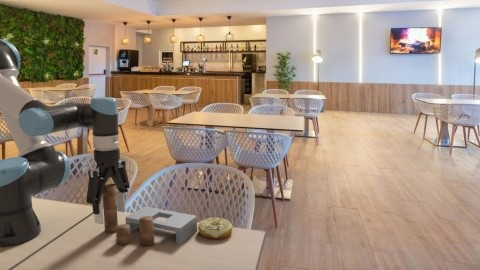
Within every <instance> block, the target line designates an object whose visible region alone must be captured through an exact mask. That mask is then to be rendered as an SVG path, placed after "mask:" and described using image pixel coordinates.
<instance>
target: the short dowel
mask: <svg viewBox="0 0 480 270" xmlns="http://www.w3.org/2000/svg"><path fill="white" fill-rule="evenodd" d="M115 237H116V238H115V239H116V241H115V242H116V245H117V246H119V247H124V246H128V245H130V244H131V242H132V241H131V233H130V225H128V224H126V223H122V224H118V226H117V227H116V232H115Z"/></svg>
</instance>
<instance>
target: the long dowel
mask: <svg viewBox="0 0 480 270" xmlns="http://www.w3.org/2000/svg"><path fill="white" fill-rule="evenodd" d="M116 189H117V187H116V185H115V183H105V187H104V190H103V194H102V207H103V224H104V232H105V233H106V234H114V233H115V234H116V227H117V226H118V225H119V222H118V211H117V195H116V192H117V190H116Z"/></svg>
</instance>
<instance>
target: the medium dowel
mask: <svg viewBox="0 0 480 270" xmlns="http://www.w3.org/2000/svg"><path fill="white" fill-rule="evenodd" d="M138 229H139V245H140V247H142V248H150V247H153V246H154V245H155V230H154V229H155V228H154V226H153V217H151V216H144V217H141V218H140V219H139V228H138Z"/></svg>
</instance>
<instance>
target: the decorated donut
mask: <svg viewBox="0 0 480 270" xmlns="http://www.w3.org/2000/svg"><path fill="white" fill-rule="evenodd" d="M233 228H234V226H233V225H232V223H231V222H230V221H229V220H227V219H225V218H223V217H208V218H205V219H203V220H201V221H200V222H198V223H197V231H198V232H199V233H200V235H201V236H202V237H203V238H206V239H211V240H212V239H215V240H216V239H217V240H221V239H226V238H229V236H231V234H232V232H233V231H232V230H233Z"/></svg>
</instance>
